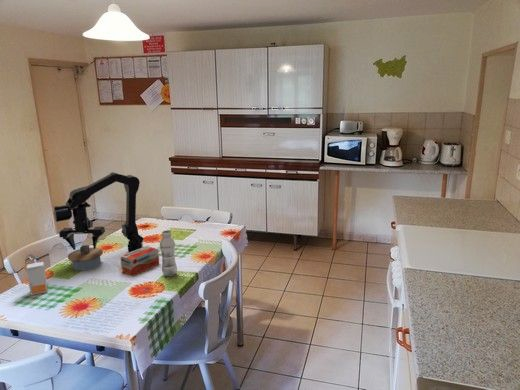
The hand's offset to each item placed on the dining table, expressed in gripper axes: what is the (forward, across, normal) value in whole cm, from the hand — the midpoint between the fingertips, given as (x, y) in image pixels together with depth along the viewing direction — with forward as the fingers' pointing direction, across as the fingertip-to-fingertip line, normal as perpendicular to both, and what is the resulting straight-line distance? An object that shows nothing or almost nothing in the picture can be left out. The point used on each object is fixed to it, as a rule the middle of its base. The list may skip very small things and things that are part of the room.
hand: (84, 249), depth 179 cm
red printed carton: (+8, -26, +6) cm, 28 cm away
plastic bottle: (+8, -41, +15) cm, 44 cm away
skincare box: (+8, +10, +25) cm, 28 cm away
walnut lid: (+3, 0, 0) cm, 3 cm away
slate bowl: (+8, 0, 0) cm, 8 cm away
